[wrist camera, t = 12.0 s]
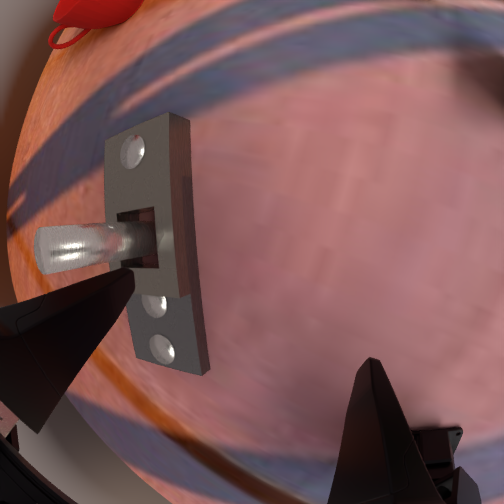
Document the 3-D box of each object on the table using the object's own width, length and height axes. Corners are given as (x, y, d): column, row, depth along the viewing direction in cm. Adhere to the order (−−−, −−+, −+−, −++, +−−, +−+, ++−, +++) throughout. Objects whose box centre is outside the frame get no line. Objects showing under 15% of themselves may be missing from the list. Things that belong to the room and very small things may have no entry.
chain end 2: (210, 369, 26) (200, 376, 24) (145, 353, 30) (135, 358, 28) (191, 177, 24) (179, 175, 23) (126, 192, 28) (114, 192, 26)
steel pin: (172, 252, 26) (53, 275, 15) (148, 253, 27) (37, 273, 16) (169, 218, 26) (48, 224, 14) (146, 221, 27) (32, 229, 16)
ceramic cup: (81, 47, 32) (36, 33, 23) (143, -28, 25) (103, -52, 16) (97, 75, 30) (41, 58, 20) (176, -16, 23) (126, -51, 14)
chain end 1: (200, 290, 25) (178, 298, 22) (133, 285, 29) (111, 291, 26) (189, 120, 24) (167, 111, 21) (125, 144, 27) (103, 140, 25)
